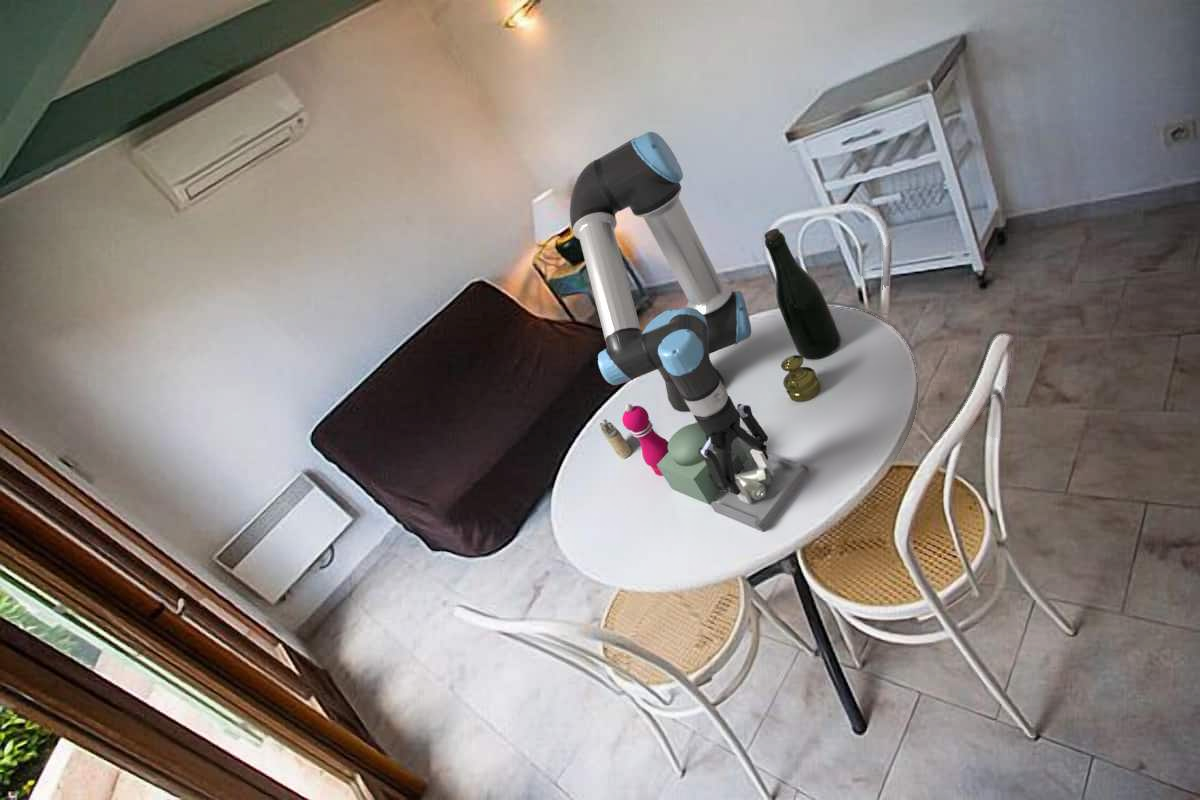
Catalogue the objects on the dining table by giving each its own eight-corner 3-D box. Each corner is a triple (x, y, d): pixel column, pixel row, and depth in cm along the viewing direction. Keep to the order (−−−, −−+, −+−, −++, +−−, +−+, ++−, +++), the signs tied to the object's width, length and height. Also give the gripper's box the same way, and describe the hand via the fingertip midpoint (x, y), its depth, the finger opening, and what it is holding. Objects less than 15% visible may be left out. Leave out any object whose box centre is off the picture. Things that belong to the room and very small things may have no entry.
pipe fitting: (771, 501, 126) (770, 475, 131) (764, 489, 124) (763, 463, 129) (733, 509, 130) (733, 483, 135) (725, 497, 128) (726, 471, 133)
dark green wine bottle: (849, 333, 156) (802, 214, 140) (831, 361, 151) (781, 242, 135) (810, 334, 164) (762, 222, 148) (791, 361, 159) (740, 248, 143)
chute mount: (714, 511, 133) (710, 504, 132) (760, 457, 138) (756, 450, 137) (762, 532, 123) (758, 524, 122) (810, 472, 128) (806, 465, 127)
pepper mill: (682, 452, 154) (644, 390, 144) (677, 474, 148) (637, 412, 139) (656, 458, 157) (616, 398, 148) (650, 480, 152) (609, 419, 142)
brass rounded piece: (828, 384, 146) (813, 350, 141) (808, 405, 143) (792, 372, 139) (802, 378, 152) (787, 346, 147) (783, 399, 150) (767, 367, 145)
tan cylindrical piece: (613, 449, 170) (594, 422, 165) (624, 440, 170) (606, 413, 165) (623, 460, 163) (604, 433, 158) (635, 451, 164) (616, 423, 159)
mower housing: (672, 489, 145) (650, 455, 140) (710, 446, 150) (690, 412, 145) (717, 508, 134) (695, 472, 128) (757, 461, 138) (737, 424, 133)
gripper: (690, 446, 113) (741, 529, 124) (757, 372, 120) (799, 457, 131) (663, 437, 119) (713, 517, 130) (728, 367, 126) (771, 448, 137)
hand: (756, 486), depth 130 cm, fingers closed on pipe fitting, 7 cm apart
